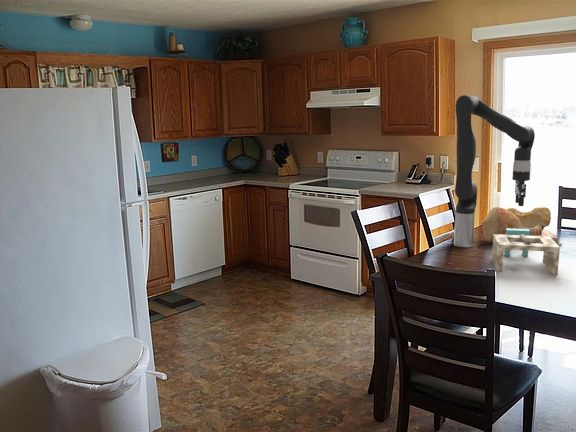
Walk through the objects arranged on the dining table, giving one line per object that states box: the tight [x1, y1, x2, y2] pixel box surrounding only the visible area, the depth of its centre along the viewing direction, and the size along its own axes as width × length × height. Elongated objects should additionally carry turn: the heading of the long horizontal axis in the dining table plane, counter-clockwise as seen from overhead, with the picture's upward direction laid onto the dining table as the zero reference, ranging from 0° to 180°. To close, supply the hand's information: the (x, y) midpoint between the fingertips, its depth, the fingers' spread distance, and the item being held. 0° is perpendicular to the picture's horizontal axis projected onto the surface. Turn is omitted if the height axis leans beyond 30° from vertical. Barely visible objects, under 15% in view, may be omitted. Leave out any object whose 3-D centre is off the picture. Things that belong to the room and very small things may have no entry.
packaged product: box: [542, 229, 563, 247], centre depth 291 cm, size 18×5×10 cm
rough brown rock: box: [506, 206, 552, 231], centre depth 313 cm, size 23×16×15 cm
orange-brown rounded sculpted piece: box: [481, 206, 542, 244], centre depth 288 cm, size 20×19×30 cm
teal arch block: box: [503, 228, 530, 258], centre depth 264 cm, size 10×4×12 cm, turn 76°
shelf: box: [491, 234, 561, 276], centre depth 245 cm, size 24×20×13 cm
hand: (519, 204), depth 261 cm, fingers open, 8 cm apart
